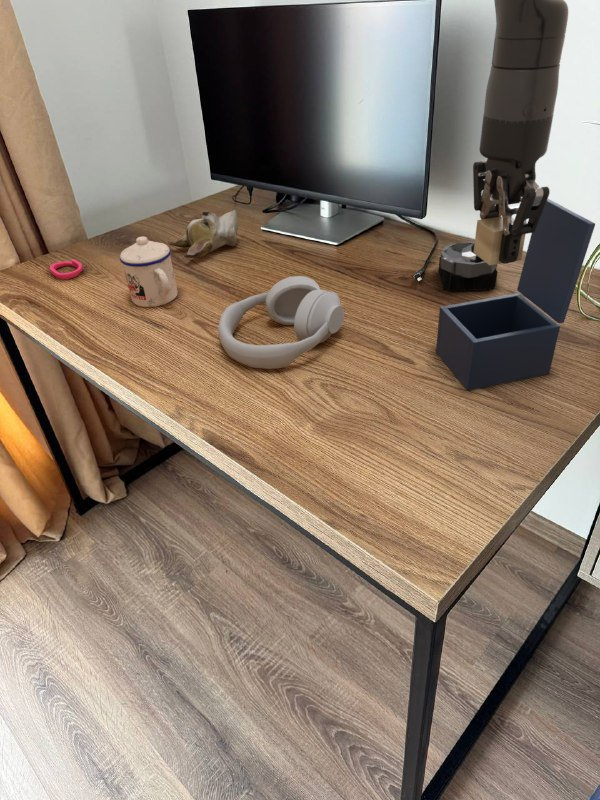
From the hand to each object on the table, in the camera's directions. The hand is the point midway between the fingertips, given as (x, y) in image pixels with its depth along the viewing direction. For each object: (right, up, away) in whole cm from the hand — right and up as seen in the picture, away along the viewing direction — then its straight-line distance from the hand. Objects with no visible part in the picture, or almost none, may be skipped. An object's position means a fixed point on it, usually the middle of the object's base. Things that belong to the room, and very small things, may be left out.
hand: (497, 253), depth 76 cm
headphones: (-29, -9, +20) cm, 36 cm away
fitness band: (-74, +8, +47) cm, 88 cm away
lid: (+8, 0, +3) cm, 8 cm away
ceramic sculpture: (-45, +13, +52) cm, 70 cm away
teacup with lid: (-52, 0, +34) cm, 62 cm away
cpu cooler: (+5, +3, +32) cm, 33 cm away
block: (0, 0, 0) cm, 0 cm away
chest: (+3, -13, +11) cm, 17 cm away
